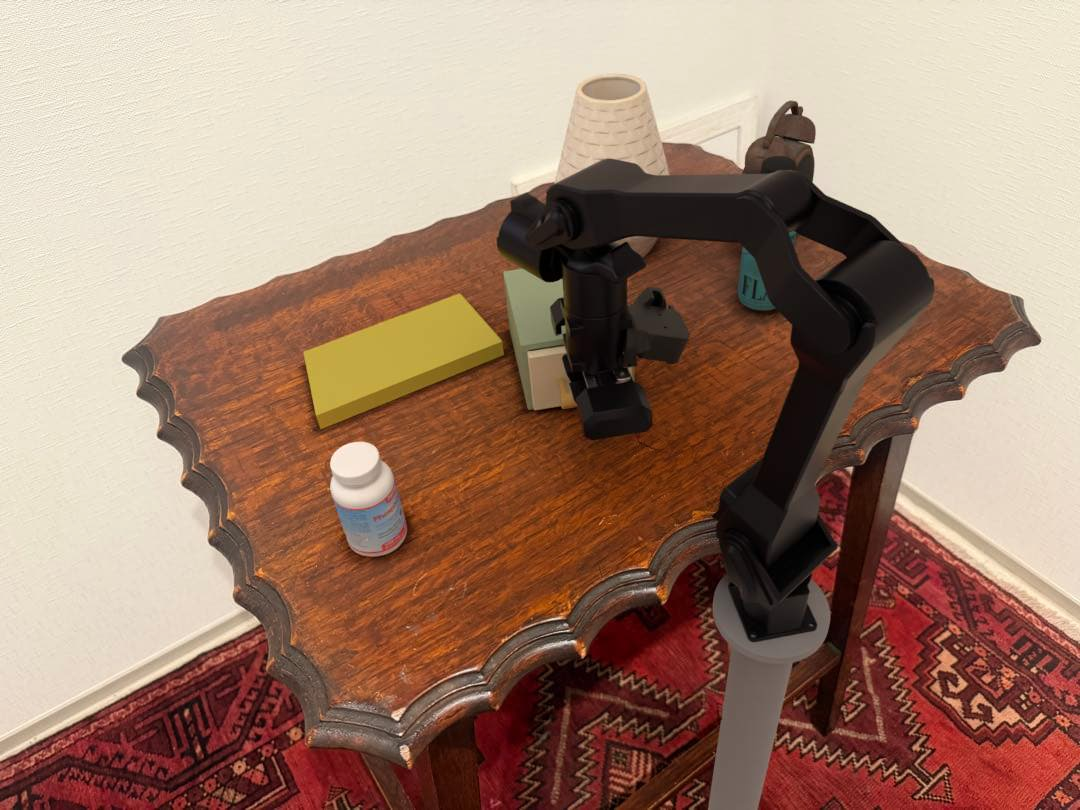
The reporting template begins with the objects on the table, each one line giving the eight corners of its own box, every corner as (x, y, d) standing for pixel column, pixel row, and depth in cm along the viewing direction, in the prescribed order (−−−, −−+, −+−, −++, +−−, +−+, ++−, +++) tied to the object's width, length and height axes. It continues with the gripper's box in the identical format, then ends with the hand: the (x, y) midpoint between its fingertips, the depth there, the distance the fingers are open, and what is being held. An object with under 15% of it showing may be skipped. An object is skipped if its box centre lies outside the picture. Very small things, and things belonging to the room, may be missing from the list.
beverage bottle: (729, 316, 110) (744, 172, 97) (741, 287, 115) (756, 145, 101) (782, 325, 108) (804, 179, 95) (791, 295, 113) (813, 151, 99)
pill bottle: (398, 562, 85) (375, 486, 78) (339, 556, 86) (311, 480, 79) (415, 515, 90) (395, 438, 82) (359, 509, 91) (334, 433, 83)
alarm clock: (774, 278, 115) (793, 137, 102) (723, 264, 119) (736, 125, 105) (813, 226, 124) (836, 89, 111) (765, 215, 127) (781, 80, 114)
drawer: (641, 419, 96) (642, 366, 91) (540, 436, 95) (535, 383, 90) (606, 324, 109) (605, 273, 104) (517, 338, 108) (511, 287, 103)
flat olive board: (462, 306, 116) (289, 372, 108) (460, 293, 114) (284, 358, 107) (504, 354, 108) (320, 429, 100) (502, 341, 106) (315, 415, 99)
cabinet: (634, 392, 101) (634, 327, 94) (528, 410, 100) (520, 345, 94) (607, 318, 112) (605, 255, 105) (510, 334, 111) (502, 271, 104)
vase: (662, 286, 116) (668, 122, 100) (538, 273, 120) (524, 113, 105) (684, 218, 128) (691, 62, 112) (570, 208, 132) (562, 57, 117)
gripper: (713, 349, 72) (703, 477, 82) (655, 233, 86) (653, 355, 96) (582, 370, 71) (588, 496, 82) (544, 250, 85) (554, 371, 95)
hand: (599, 424), depth 89 cm, fingers closed
